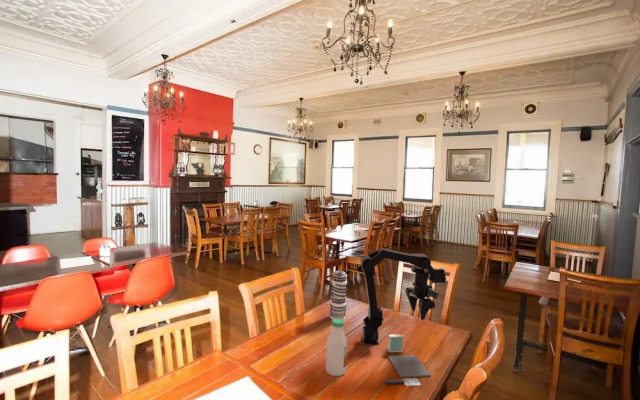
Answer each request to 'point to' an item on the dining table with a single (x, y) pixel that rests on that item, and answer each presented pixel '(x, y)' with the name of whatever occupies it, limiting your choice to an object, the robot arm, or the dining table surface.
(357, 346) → the dining table surface
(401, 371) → the mat
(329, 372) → the milk bottle
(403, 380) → the turner
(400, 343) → the tile
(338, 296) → the decorative candle
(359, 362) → the dining table surface
